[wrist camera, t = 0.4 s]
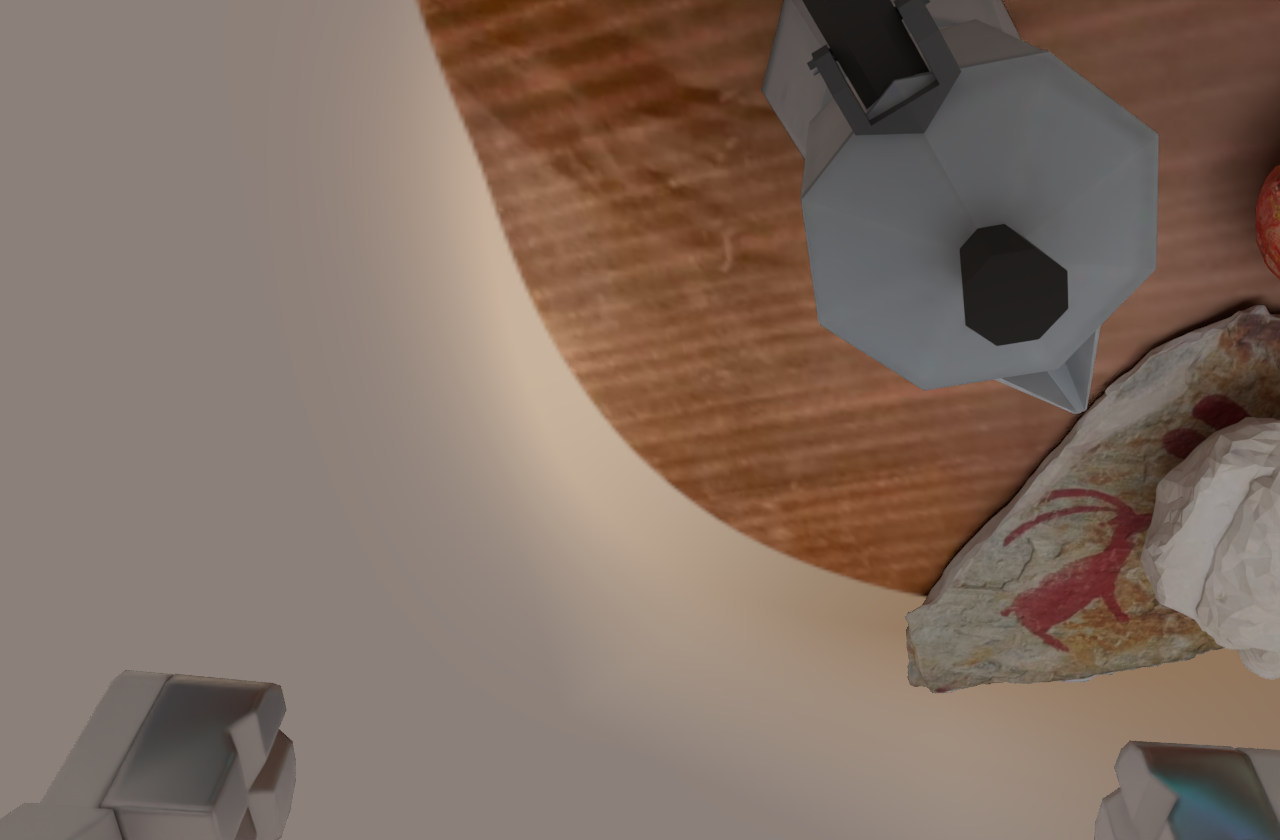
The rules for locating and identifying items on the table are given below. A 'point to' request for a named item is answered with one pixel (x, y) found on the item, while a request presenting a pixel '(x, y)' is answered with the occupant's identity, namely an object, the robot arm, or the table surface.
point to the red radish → (1269, 221)
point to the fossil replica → (1223, 541)
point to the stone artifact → (1094, 527)
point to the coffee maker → (961, 192)
